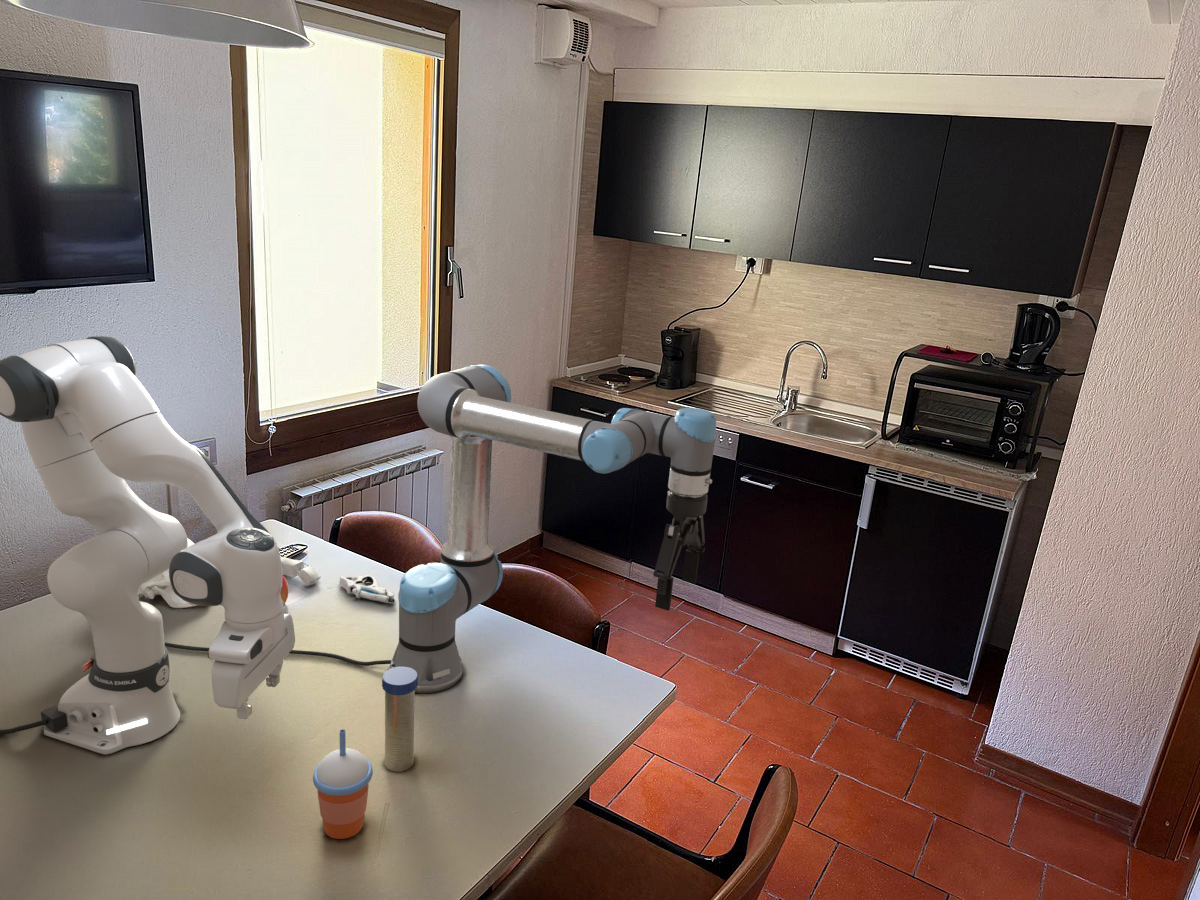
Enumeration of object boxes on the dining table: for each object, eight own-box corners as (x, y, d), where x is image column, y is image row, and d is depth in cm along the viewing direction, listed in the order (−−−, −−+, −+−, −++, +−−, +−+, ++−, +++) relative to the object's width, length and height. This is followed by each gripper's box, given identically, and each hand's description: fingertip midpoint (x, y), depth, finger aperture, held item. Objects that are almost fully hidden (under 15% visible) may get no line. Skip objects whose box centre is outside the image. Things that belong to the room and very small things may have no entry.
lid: (423, 689, 149) (423, 679, 149) (390, 699, 146) (390, 689, 145) (409, 672, 154) (409, 662, 153) (376, 681, 150) (376, 671, 150)
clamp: (253, 565, 223) (254, 542, 221) (265, 560, 226) (266, 537, 224) (309, 593, 215) (310, 569, 213) (320, 588, 218) (321, 564, 216)
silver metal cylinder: (418, 766, 154) (419, 681, 149) (391, 775, 151) (392, 688, 146) (406, 750, 158) (407, 667, 153) (380, 759, 155) (380, 674, 150)
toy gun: (412, 588, 214) (383, 600, 205) (411, 597, 215) (383, 610, 206) (358, 568, 223) (329, 579, 214) (358, 577, 223) (328, 588, 215)
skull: (192, 617, 196) (189, 553, 192) (115, 598, 202) (111, 536, 198) (232, 595, 209) (230, 534, 205) (158, 577, 214) (155, 518, 210)
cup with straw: (356, 851, 133) (355, 754, 128) (303, 839, 135) (300, 742, 130) (382, 812, 142) (382, 719, 137) (331, 801, 143) (330, 709, 138)
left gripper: (268, 595, 149) (271, 665, 153) (201, 655, 129) (207, 733, 133) (303, 599, 148) (305, 669, 152) (241, 661, 129) (246, 739, 133)
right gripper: (681, 516, 147) (669, 626, 153) (728, 478, 168) (716, 576, 174) (642, 506, 150) (631, 614, 156) (693, 470, 171) (682, 566, 178)
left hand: (259, 700), depth 143 cm, fingers open, 8 cm apart
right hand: (676, 594), depth 165 cm, fingers open, 13 cm apart
